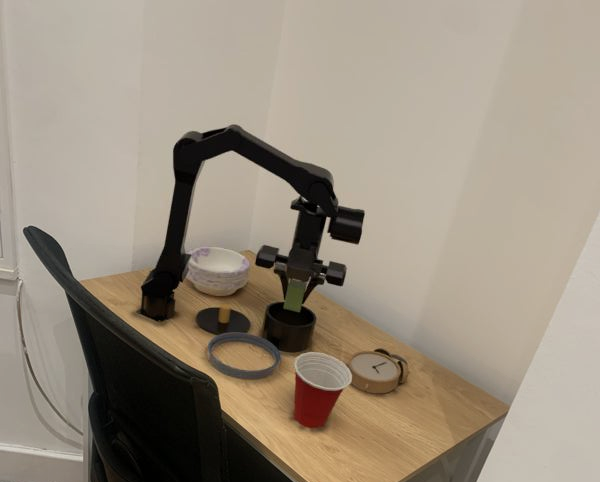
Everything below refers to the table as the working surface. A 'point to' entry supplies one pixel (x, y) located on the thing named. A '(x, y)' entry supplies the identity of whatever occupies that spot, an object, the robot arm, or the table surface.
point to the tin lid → (222, 320)
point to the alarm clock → (377, 370)
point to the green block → (295, 295)
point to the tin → (288, 327)
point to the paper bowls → (217, 270)
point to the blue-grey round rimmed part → (245, 339)
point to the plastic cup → (318, 387)
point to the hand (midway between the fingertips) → (293, 301)
